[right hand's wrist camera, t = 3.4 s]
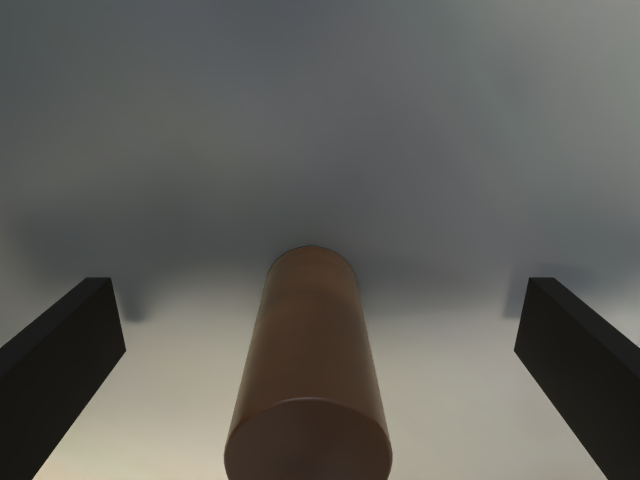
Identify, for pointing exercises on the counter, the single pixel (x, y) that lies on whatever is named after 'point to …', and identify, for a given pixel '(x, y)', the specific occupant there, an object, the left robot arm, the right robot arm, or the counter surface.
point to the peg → (309, 380)
